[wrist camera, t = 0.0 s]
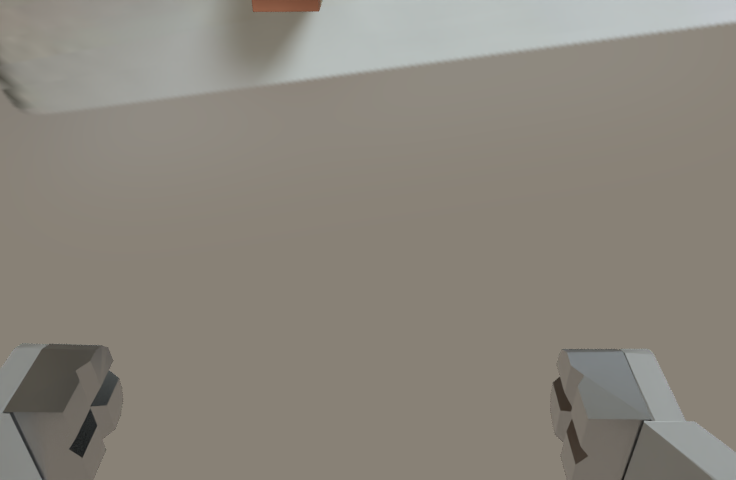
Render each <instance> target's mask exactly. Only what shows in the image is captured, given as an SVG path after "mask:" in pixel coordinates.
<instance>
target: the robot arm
mask: <svg viewBox="0 0 736 480" xmlns="http://www.w3.org/2000/svg"><path fill="white" fill-rule="evenodd" d="M112 362H113V359H112V356H111V354H110V351H109V349H108V347H105V346H102V345H71V344H26V343H25V344H23V343H22V344H21V345H19V346H17V347H16V348H14V350H13V351H12V353H11V354H10V355H9V357H8V359H7V360H6V361H5V363H4V364H3V366H2V367H1V369H0V480H93V479H94V477H95V475H96V472H97V470H98V468H99V465H100V463H101V461H102V459H103V456H104V454H105V452H106V448H105V445H104V443H103V440H102V439H103V438H105V437H106V436H107V435H109V434H110V433H111V432H112V431H114V430H115V428H116V426H117V424H118V421H119V419H120V416H121V410H122V404H123V392H122V386H121V383H120V379H119V378H118V377H117V376H116V375H114V374H113V373H112V372H110V371H109V369H110V367H111V364H112ZM557 367H558V371H559V375H560V377H559V378H558V379H557V380H555V381H554V382H553V385H552V390H551V401H550V402H551V404H550V407H551V408H550V411H551V418H552V424H553V428H554V433H555V435H556V436H557V437H558V438H559V439H560V440H561V441H562V442H563V448H562V452H561V460H562V463H563V467H564V471H565V475H566V478H567V480H736V452H735V451H733V450H732V449H731V448H729V447H728V446H727V445H725V444H724V443H723V442H721V441H720V440H719V439H717V438H716V437H715V436H713V435H712V434H711V433H709V432H708V431H707V430H705V429H704V428H703V427H701V426H700V425H699V424H697V423H696V422H689V421H686V420H685V418H684V416H683V414H682V412H681V410H680V408H679V405H678V403H677V401H676V399H675V397H674V395H673V393H672V391H671V389H670V387H669V385H668V383H667V380H666V378H665V376H664V374H663V372H662V370H661V368H660V366H659V364H658V362H657V360H656V358H655V356H654V353H653V352H652V351H650V350H649V349H619V350H618V349H562V350H561V352H560V354H559V357H558V361H557Z"/></svg>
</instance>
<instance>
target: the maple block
mask: <svg viewBox="0 0 736 480" xmlns="http://www.w3.org/2000/svg"><path fill="white" fill-rule="evenodd" d="M321 3H322V0H252V6H253V12H298V11H319V10H320V7H321Z"/></svg>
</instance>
